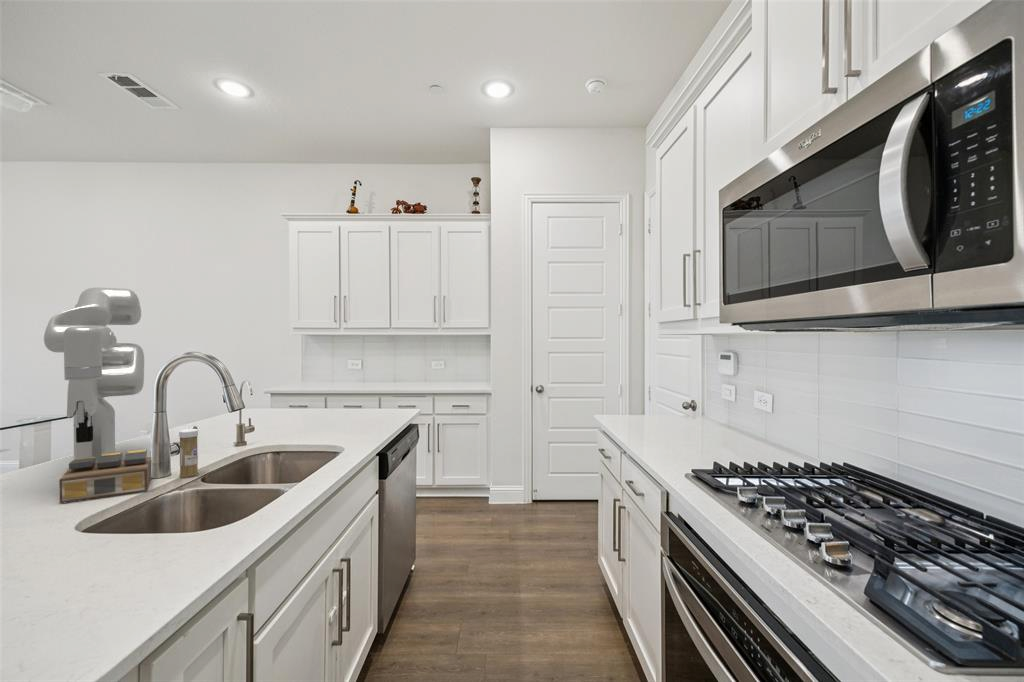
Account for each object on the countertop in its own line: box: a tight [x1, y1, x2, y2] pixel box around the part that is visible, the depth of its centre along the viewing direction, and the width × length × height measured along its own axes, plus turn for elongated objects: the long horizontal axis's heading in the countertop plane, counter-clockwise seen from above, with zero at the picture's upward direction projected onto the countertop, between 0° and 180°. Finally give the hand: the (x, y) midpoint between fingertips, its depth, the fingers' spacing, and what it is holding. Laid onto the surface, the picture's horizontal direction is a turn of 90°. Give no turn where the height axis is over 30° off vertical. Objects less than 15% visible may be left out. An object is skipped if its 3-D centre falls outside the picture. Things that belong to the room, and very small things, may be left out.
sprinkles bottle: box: [178, 428, 199, 478], centre depth 140 cm, size 5×5×14 cm
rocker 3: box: [123, 449, 148, 465], centre depth 131 cm, size 6×4×2 cm
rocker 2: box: [97, 451, 123, 468], centre depth 128 cm, size 6×4×2 cm
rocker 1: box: [68, 457, 96, 470], centre depth 125 cm, size 6×4×2 cm
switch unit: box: [58, 456, 152, 504], centre depth 127 cm, size 14×17×6 cm
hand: (84, 441), depth 128 cm, fingers closed
